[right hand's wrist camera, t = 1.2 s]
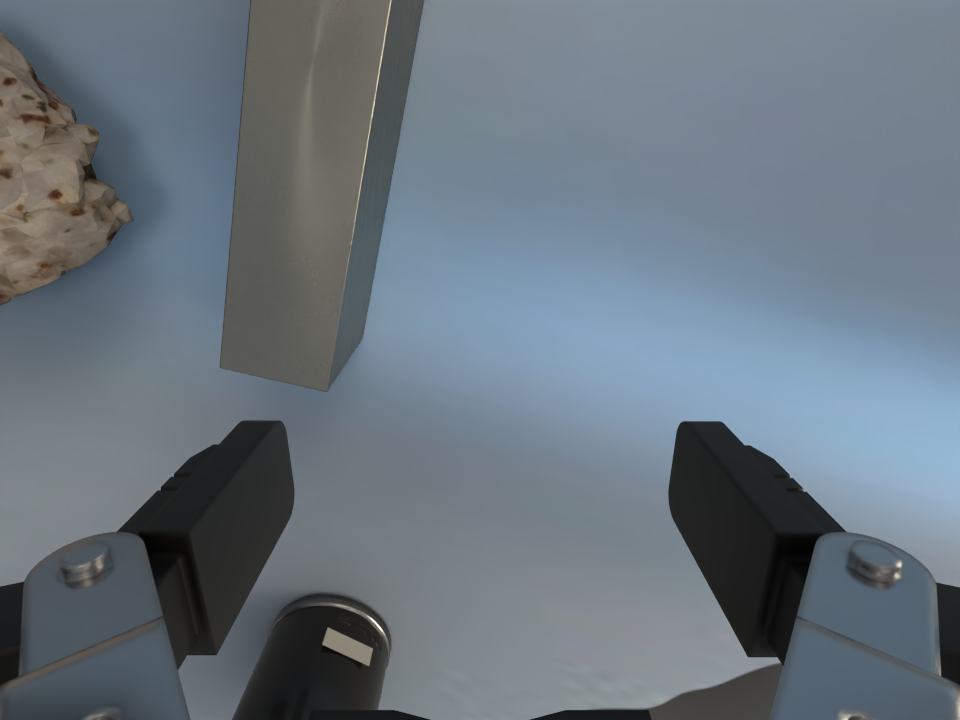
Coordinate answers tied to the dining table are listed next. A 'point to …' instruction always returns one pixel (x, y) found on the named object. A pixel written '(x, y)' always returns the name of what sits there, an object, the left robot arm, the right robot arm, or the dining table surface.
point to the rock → (46, 184)
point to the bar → (313, 181)
